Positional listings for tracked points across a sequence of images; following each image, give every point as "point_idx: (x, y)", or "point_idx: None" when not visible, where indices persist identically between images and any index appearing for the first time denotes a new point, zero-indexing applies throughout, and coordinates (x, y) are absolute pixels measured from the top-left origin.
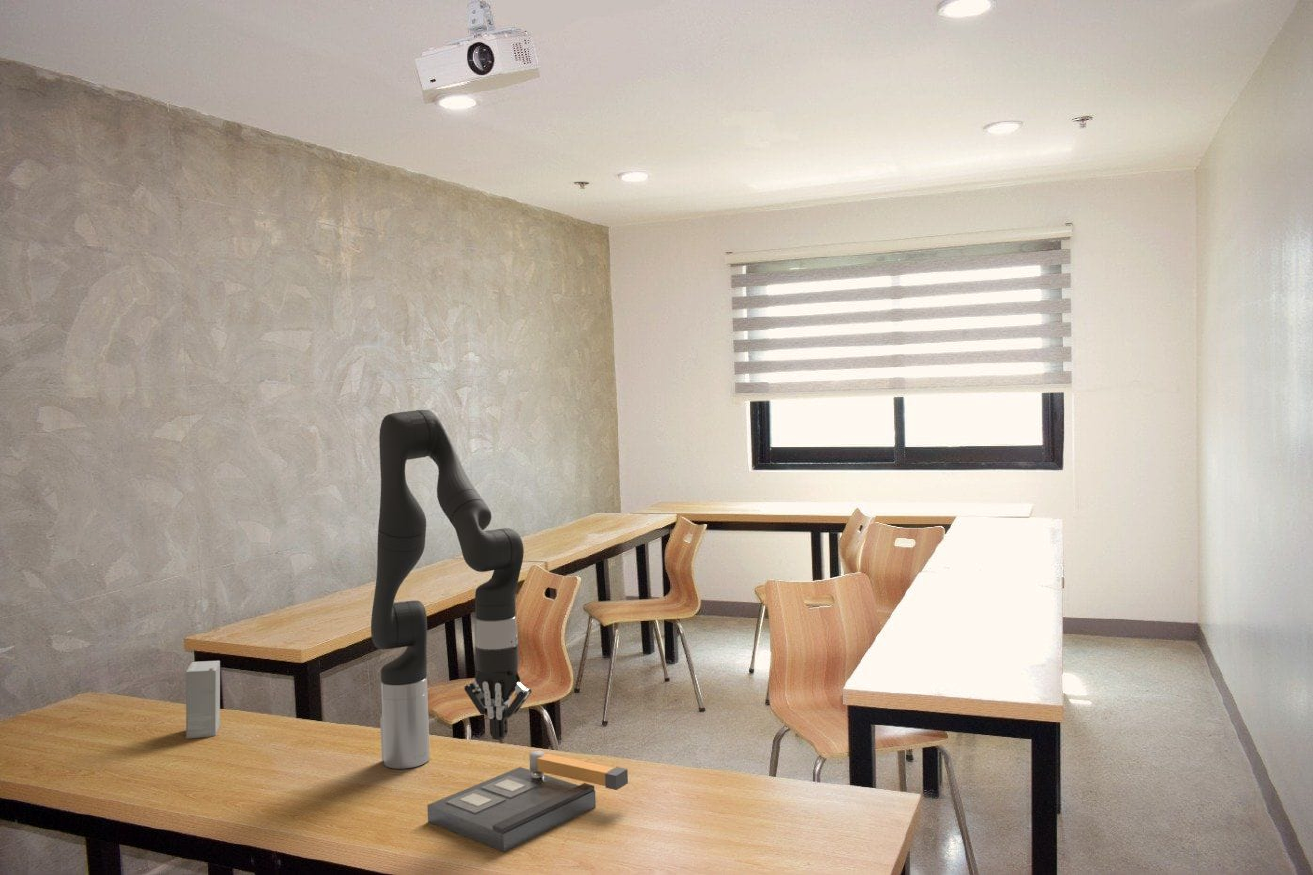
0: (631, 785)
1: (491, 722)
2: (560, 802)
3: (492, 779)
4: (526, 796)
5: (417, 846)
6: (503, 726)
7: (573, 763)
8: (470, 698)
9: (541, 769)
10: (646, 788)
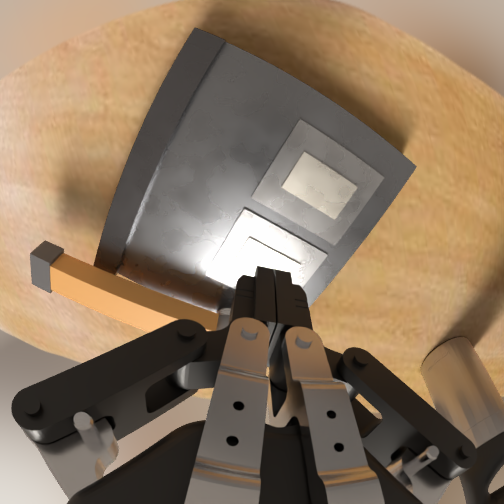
0: (98, 319)
1: (301, 323)
2: (118, 185)
3: (313, 295)
4: (211, 221)
5: (385, 54)
6: (234, 302)
7: (127, 309)
8: (435, 411)
9: (208, 313)
10: (76, 310)
